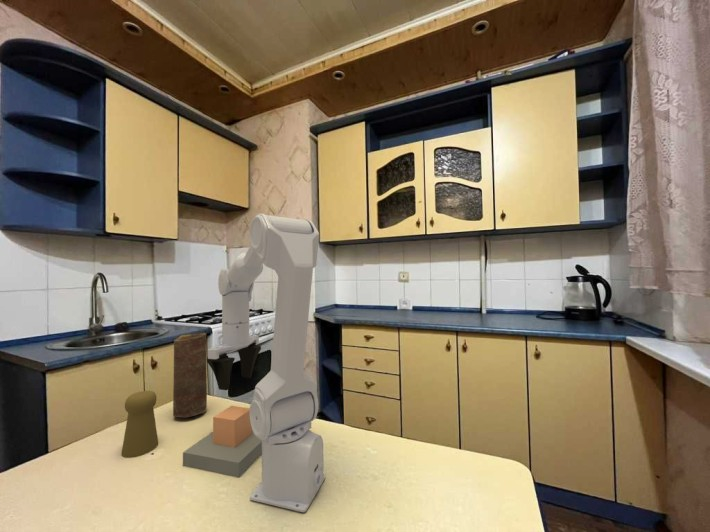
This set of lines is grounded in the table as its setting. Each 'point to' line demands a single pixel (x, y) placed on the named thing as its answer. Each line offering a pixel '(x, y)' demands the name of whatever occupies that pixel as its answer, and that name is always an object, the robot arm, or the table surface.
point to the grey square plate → (223, 456)
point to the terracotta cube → (231, 426)
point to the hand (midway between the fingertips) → (235, 382)
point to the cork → (140, 425)
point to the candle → (190, 375)
